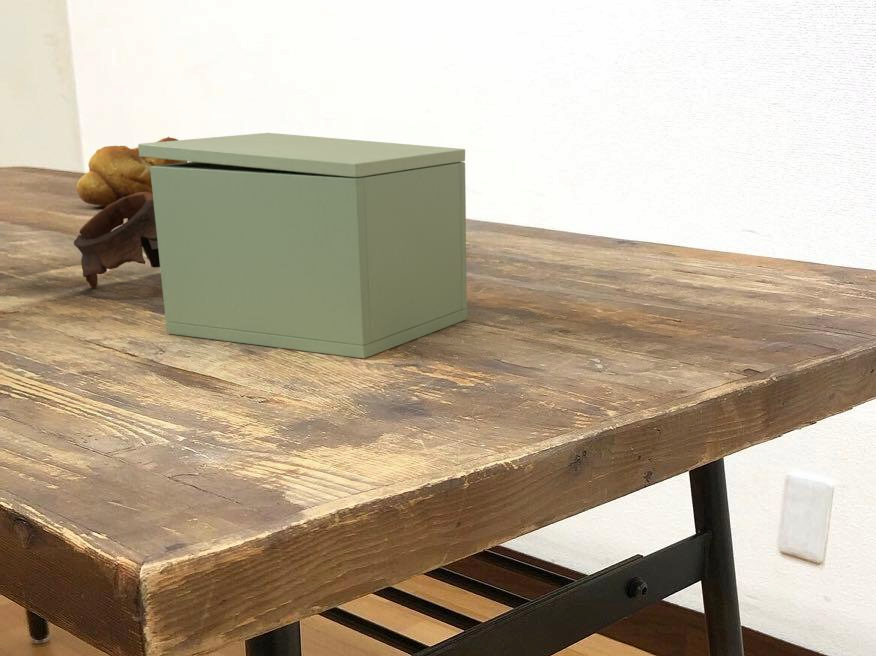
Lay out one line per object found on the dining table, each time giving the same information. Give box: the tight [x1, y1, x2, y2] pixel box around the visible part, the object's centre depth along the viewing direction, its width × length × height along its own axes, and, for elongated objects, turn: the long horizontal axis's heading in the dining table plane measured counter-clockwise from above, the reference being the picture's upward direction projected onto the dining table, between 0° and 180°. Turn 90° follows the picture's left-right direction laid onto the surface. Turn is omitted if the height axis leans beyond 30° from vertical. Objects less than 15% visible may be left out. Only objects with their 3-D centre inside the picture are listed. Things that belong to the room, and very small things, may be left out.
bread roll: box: [76, 136, 188, 207], centre depth 148 cm, size 13×10×8 cm
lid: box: [137, 132, 466, 177], centre depth 81 cm, size 16×14×1 cm
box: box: [150, 161, 468, 359], centre depth 84 cm, size 16×14×11 cm
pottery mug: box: [73, 192, 160, 289], centre depth 99 cm, size 12×10×8 cm
